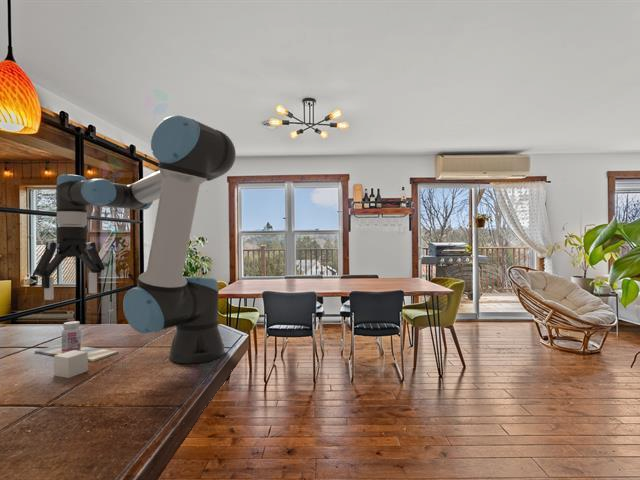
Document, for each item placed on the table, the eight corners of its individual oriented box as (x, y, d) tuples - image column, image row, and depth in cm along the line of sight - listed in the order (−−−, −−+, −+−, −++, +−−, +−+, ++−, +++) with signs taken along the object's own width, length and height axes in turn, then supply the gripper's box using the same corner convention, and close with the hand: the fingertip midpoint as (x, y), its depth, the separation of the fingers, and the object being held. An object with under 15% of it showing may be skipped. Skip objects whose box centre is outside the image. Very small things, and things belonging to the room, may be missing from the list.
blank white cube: (87, 371, 92) (87, 351, 92) (68, 378, 87) (68, 357, 87) (73, 369, 94) (73, 350, 94) (54, 375, 89) (54, 355, 89)
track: (118, 353, 107) (118, 351, 107) (93, 361, 99) (93, 359, 99) (61, 345, 114) (61, 343, 114) (34, 352, 107) (34, 350, 107)
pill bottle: (68, 353, 104) (68, 324, 104) (57, 351, 106) (58, 323, 106) (84, 349, 109) (84, 321, 109) (74, 347, 111) (74, 320, 111)
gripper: (99, 228, 121) (100, 290, 121) (17, 224, 98) (17, 302, 97) (116, 227, 119) (116, 291, 119) (36, 224, 95) (36, 303, 95)
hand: (72, 296), depth 108 cm, fingers open, 13 cm apart
